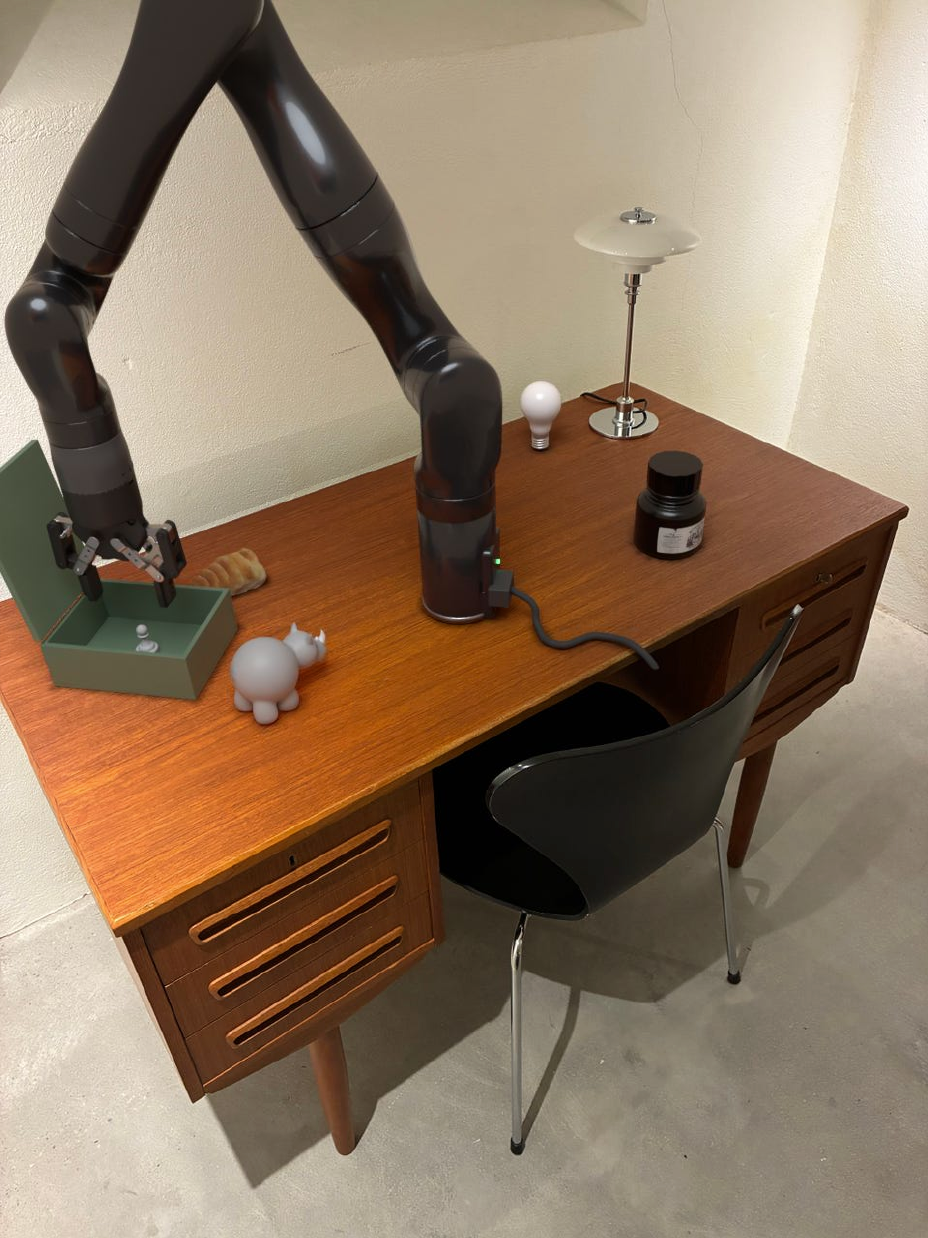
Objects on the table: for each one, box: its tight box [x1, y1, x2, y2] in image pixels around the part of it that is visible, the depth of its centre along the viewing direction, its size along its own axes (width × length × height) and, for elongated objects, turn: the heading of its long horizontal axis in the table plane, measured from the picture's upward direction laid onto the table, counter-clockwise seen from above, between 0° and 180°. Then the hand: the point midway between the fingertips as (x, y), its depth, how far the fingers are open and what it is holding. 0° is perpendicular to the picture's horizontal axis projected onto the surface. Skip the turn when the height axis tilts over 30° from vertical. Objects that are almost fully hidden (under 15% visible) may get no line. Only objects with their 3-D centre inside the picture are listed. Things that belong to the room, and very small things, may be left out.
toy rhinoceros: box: [229, 622, 327, 725], centre depth 108 cm, size 7×12×8 cm, turn 135°
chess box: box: [39, 577, 239, 701], centre depth 115 cm, size 17×13×6 cm
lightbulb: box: [519, 380, 563, 451], centre depth 152 cm, size 6×6×11 cm
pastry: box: [189, 547, 267, 597], centre depth 127 cm, size 9×7×4 cm
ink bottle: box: [633, 450, 707, 560], centre depth 129 cm, size 10×9×12 cm
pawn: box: [136, 625, 159, 653], centre depth 115 cm, size 3×3×4 cm
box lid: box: [0, 439, 85, 643], centre depth 109 cm, size 18×13×1 cm
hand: (132, 600), depth 112 cm, fingers open, 8 cm apart
